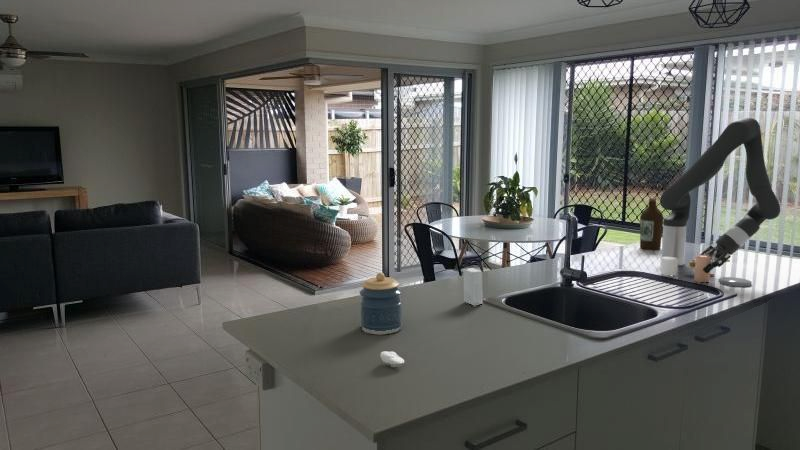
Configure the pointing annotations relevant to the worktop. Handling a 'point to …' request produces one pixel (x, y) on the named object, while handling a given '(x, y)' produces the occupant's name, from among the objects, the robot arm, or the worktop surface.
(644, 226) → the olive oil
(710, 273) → the balance
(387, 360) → the dumpling
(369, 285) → the canister
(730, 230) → the robot arm
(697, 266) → the wooden block
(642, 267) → the worktop surface
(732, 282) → the dish
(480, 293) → the skincare box
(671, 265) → the shot glass
